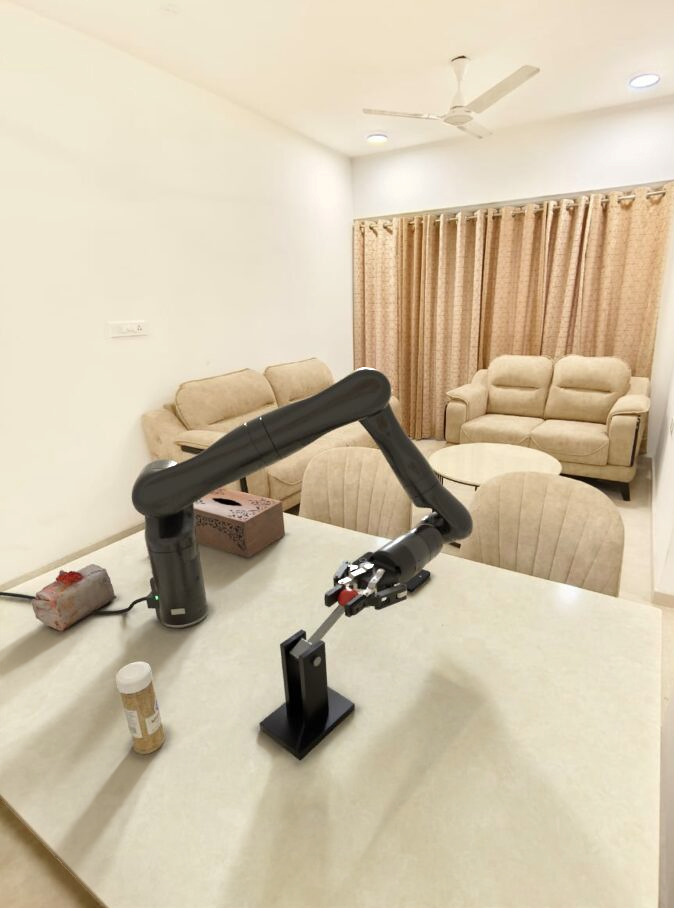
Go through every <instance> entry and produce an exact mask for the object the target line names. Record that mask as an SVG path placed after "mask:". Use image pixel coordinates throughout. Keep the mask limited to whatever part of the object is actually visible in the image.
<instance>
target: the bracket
mask: <svg viewBox="0 0 674 908" xmlns="http://www.w3.org/2000/svg"><path fill="white" fill-rule="evenodd" d="M301 639H304V640H306V641H308V639H307V631H306V630H304V629H300V630H298V631H296V633H294V634H292V635H291V636H290V637H288V638H287V639H285V640H283V641H282V642H280V643H279V649H280V658H281V659H280V660H281V669H282V679H283V689H284V698H285V702H284V703H283V704H281V705H280V706H279V707H277V708H276V709H275V710H274V711H272V713H270V714H269V715H268V716H267V717H265V718H264V719H263V720H261V721H260V722H259V723H258V724H259V730H261V732H263V733H264V734H265V735H266V736H268V737H269V738H270V739H272V740H273V742H275V743H276V744H278V745H279V746H280V747H282V748H283V749H284V750H286V751H287V753H290V754H291V755H292V756H293V757H294V758H295V759H297V761H300V762H301V761H302V760H303V759H304V758H305V757H306V756H308V755H309V753H311V751H313V750H314V749H315V748H316V747H317V746H318V745H320V743H321V742H322V741H323V740H325V738H326V737H328V736H329V735H330V733H332V732H333V731H334V730H335V729H336V728H337V727H338V726H339V725H340V724H341V723H342V722H343V721H344V720H346V719H347V718H348V717H349V716H350V715H351V714H352V713H353V712H354V711H355V709H356V708H355V707H356V706H355V702H353V701H352V700H350V699H348V698H347V697H345V696H343V695H342V694H340V693H338V692H337V691H336V690H334V689H332V688H331V687H329V685H328V672H327V671H328V669H327V655H326V654H327V653H326V642H325V641H323V640H322V639H321V640H319V641H318V642H317V643H315V644H314V645H313V646H311V647H310V648H309V649H307V650H306V651H304V652H303V653H302V654H300V655H299V664H297V663H296V662H294V660H293V658H292V656H291V655H290V651H291V650H292V649H293V648H294V647H295V646H296V644H297V643H298V642H299V641H300V640H301Z"/></svg>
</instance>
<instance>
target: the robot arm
mask: <svg viewBox="0 0 674 908" xmlns="http://www.w3.org/2000/svg"><path fill="white" fill-rule="evenodd" d="M391 396H392V385H391V382H390V380H389V378H388V377H387V376H386V375H385V374H384V373H383V372H382V371H380V370H378V369H376V368H373V367H360V368H356V369H355V370H353V371H351V372H350V373H349V374H347V375H346V376H344V377H343V378H342V379H339V380H338V381H337V382H335V383H332V385H329V386H328V387H326V388H325V389H322V390H321V391H319V392H317V393H316V394H313V395H311V396H308V397H306V398H302V399H300V400H297V401H294V402H291V403H288V404H285V405H283V406H282V405H281V406H279V407H277V408H274V409H272V410H269V411H267V412H264V413H262V414H260V415H258V416H255V417H254V418H251V419H249V420H247V421H245V422H243V423H240V424H239V425H238V426H236V427H234V428H233V429H231V430H229V431H228V432H227V433H225V434H224V435H223V436H221V437H220V438H218V439H217V440H216V441H215V442H213V443H212V444H211V445H209V446H208V447H206V449H204V450H203V451H201V452H200V453H198V454H196V455H194V456H192V457H190V458H188V459H185V460H183V461H180V462H176V461H175V460H172V459H168V458H160V459H154V460H152V461H150V462H148V463H147V464H146V465H145V466H144V467H142V469H141V471H140V472H139V474H138V476H137V477H136V479H135V481H134V483H133V485H132V489H131V504H132V506H133V507H134V509H135V510H136V512H137V513H139V514H140V515H142V516H143V517H144V541H145V545H146V550H147V555H148V560H149V565H150V569H151V575H152V577H150V578H149V585H150V592H149V593H148V594H147V595H146V596H143V597H140V598H136V599H135V600H133V601H132V602H131V603H130V604H129V606H128V607H126V608H123V609H116V610H102V609H97V610H94V611H92V612H91V613H90V614H97V615H118V614H124V613H128V612H130V611H131V610H132V609H133V608H134V606H135V605H137V604H139V603H141V602H144V601H145V602H146V606H147V609H153V610H154V609H155V613H156V619H157V620H159V621H160V622H161V624H162V625H163V626H164V627H166V628H169V629H185V628H189V627H192V626H194V625H197V624H199V623H201V622H202V621H203V620H204V619H205V618H206V617H207V616H208V614H209V611H210V607H209V604H208V599H207V592H206V585H205V580H204V574H203V567H202V561H201V555H200V554H201V553H200V549H199V542H197V536H196V523H195V511H194V504H193V503H194V502H196V501H198V500H199V499H201V498H202V497H204V496H206V495H207V494H209V493H211V492H213V491H215V490H217V489H219V488H221V487H225V486H227V485H230V484H232V483H235V482H237V481H239V480H242V479H243V478H246V477H248V476H250V475H252V474H254V473H257V472H260V471H261V470H264V469H266V468H268V467H271V466H273V465H275V464H277V463H278V462H280V461H283V460H285V459H287V458H289V457H291V456H292V455H294V454H296V453H298V452H300V451H301V450H303V449H305V448H307V447H308V446H309V445H312V444H313V443H315V442H316V441H317V440H319V439H320V438H322V437H323V436H325V435H327V434H329V433H331V432H333V431H335V430H338V429H340V428H342V427H345V426H348V425H350V424H353V423H355V422H358V423H359V424H360V425H361V426H362V427H363V429H364V430H365V431H366V432H367V434H368V435H369V437H371V439H372V441H374V443H375V444H376V446H377V447H378V449H379V450H380V452H381V454H382V455H383V457H384V459H385V461H386V462H387V463H388V464H387V465H389V467H390V469H391V470H392V472H393V474H394V475H395V477H396V479H397V482H399V484H400V486H401V487H402V489H403V490H404V492H405V494H406V495H407V497H408V498H409V500H410V502H411V503H412V504H413V506H414V507H416V508H418V509H430V510H433V511H432V512H430V513H428V514H427V515H425V516H423V517H422V518H421V519H420V520H419V521H418V522H417V523H416V525H415V526H413V527H412V528H410V529H409V530H407V531H406V532H405V533H403V534H401V535H399V536H397V537H394V538H393V539H392V540H390V541H389V542H388V543H386V544H384V545H383V546H381V547H380V548H378V549H377V550H375V551H374V552H373V554H372V555H371V557H370V558H369V560H368V561H367V562H365V563H361V564H359V565H358V566H355V565H350V564H351V560H349V559H345V560H343V561H342V563H341V564H340V566H339V567H338V569H336V571H335V573H334V574H333V576H332V579H333V580H332V583H333V587H332V588H331V589H329V590H327V591H326V592H325V593H324V597H323V598H324V601H323V602H324V606H325V607H327V608H331V607H332V606H334V605H335V604H337V603H338V596H339V594H340V593H341V592H342V591H343V590H345V589H349V588H350V589H354V590H356V591H357V592H358V594H359V595H357V596H356V597H355V598H353V599H352V600H351V601H349V602H348V603H347V604H346V605H345V612H344V616H345V617H347V618H351V617H354V616H356V615H358V614H359V613H360V612H362V611H363V610H364V609H369V608H371V607H374V610H375V611H380V610H384V609H385V608H389V607H390V606H393V605H396V604H398V603H401V602H403V601H406V600H407V599H408V591H407V585H406V584H405V583H406V582H407V581H409V580H410V579H411V578H412V577H414V576H415V575H416V574H417V573H419V572H420V571H421V570H422V569H423V570H424V568H425V567H426V565H428V564H429V563H430V562H431V561H433V560H434V559H435V558H436V557H437V556H439V554H440V553H441V552H442V550H443V548H444V545H447V544H451V543H455V542H459V541H464V540H466V539H468V538H470V536H471V535H472V533H473V530H474V520H473V518H472V515H471V513H470V511H469V510H468V508H467V507H466V506H465V504H463V502H461V501H460V500H459V499H458V498H457V497H456V496H455V495H454V494H452V492H451V491H450V490H448V489H447V488H446V487H445V486H444V485H443V484H442V482H441V480H440V479H439V477H438V475H437V473H436V472H435V471H434V469H433V467H432V466H431V464H430V462H429V461H428V459H426V457H425V455H424V454H423V453H422V452H421V450H420V449H419V448H418V447H417V445H416V444H415V442H414V441H413V440H412V439H411V437H410V436H409V435H408V434H407V432H406V431H405V430H404V428H403V427H402V425H401V424H400V421H399V420H398V419H397V417H396V415H395V413H394V411H393V409H392V406H391V404H390V400H391ZM347 585H348V586H347ZM361 591H363V592H362V594H361V593H360V592H361ZM0 596H4V597H14V598H20V599H25V600H26V599H27V600H32V599H35V598H36V596H34V595H30V594H29V595H28V594H23V593H17V592H16V593H14V592H6V591H0ZM383 599H384V600H383Z"/></svg>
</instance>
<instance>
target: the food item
mask: <svg viewBox="0 0 674 908" xmlns="http://www.w3.org/2000/svg"><path fill="white" fill-rule="evenodd" d="M58 573H59V574H58V576H56V577H55V581H52V582H51V583H49V584H47V585H45V586H44V587H43V588H42V589H40V590H39V591H37V592H36V593H35V597H36V598H35V599H31V601H30V602H29V603H30V605H31V606H32V610H33V613H34V616H35V619H36V620H39V621H40V622H41V623H42V624H43V625H44V626H46V627H50V628H52V629H55V630H57V631H59V632H64V631H65V630H67V629H68V628H71V627H72V626H73V625H74V624H76V623H77V622H79V621H80V620H82V619H84V618H85V617H86V616H88V615H91V614H92V613H91V612H92V611H94V610H100V609H101V608H102V607H103V606H105V605H107V604H109V603H110V602H112V601H113V600H115V599H117V596H116V595H115V593H114V592H115V591H114V586H113V584H112V581H111V577H110V576H109V573H108V571H107V568H103V567H101V566H100V565H97V564H94V563H91V564H89V565H87V566H85V567H83V568H80V569H79V570H77V571H76V570H70V571H64V570H63V569H60V570H59V572H58Z"/></svg>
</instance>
